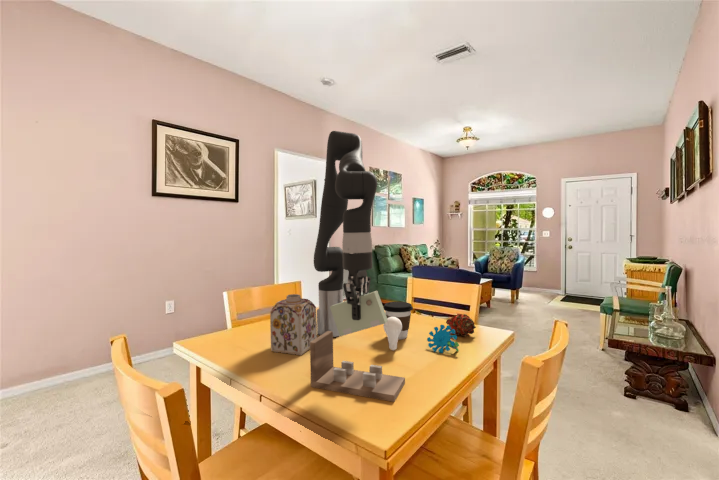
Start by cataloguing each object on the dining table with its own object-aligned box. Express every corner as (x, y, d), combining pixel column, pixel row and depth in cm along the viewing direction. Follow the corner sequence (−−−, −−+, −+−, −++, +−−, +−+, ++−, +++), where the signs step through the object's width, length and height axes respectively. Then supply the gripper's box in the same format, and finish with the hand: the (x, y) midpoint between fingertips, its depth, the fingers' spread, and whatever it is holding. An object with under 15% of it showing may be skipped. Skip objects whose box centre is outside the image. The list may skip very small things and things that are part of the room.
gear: (420, 343, 113) (436, 319, 116) (427, 352, 116) (443, 328, 120) (447, 357, 104) (464, 331, 108) (454, 366, 108) (470, 340, 111)
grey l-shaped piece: (310, 386, 87) (310, 342, 86) (328, 371, 96) (327, 330, 96) (394, 401, 78) (393, 352, 78) (404, 383, 88) (404, 339, 87)
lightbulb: (390, 354, 108) (389, 320, 107) (380, 348, 113) (379, 316, 113) (406, 351, 110) (405, 317, 110) (395, 345, 116) (395, 313, 115)
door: (337, 338, 86) (327, 308, 87) (343, 333, 90) (333, 304, 90) (383, 324, 82) (372, 293, 82) (388, 320, 85) (377, 290, 86)
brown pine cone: (475, 343, 121) (447, 340, 131) (484, 325, 126) (457, 323, 135) (464, 327, 119) (437, 324, 128) (473, 309, 123) (446, 308, 133)
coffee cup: (379, 339, 122) (379, 306, 122) (388, 331, 133) (388, 300, 132) (409, 343, 118) (408, 308, 118) (416, 333, 128) (415, 302, 128)
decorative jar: (288, 340, 123) (287, 291, 122) (317, 344, 119) (317, 292, 118) (269, 352, 112) (268, 297, 111) (300, 356, 108) (299, 299, 107)
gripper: (353, 248, 94) (355, 311, 94) (331, 252, 81) (333, 324, 82) (379, 249, 91) (380, 313, 92) (361, 252, 78) (362, 327, 79)
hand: (358, 318), depth 87 cm, fingers closed on door, 2 cm apart
